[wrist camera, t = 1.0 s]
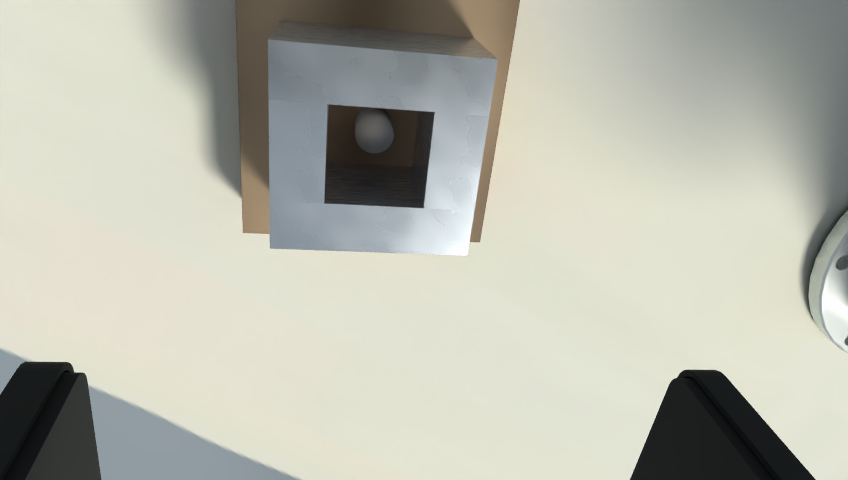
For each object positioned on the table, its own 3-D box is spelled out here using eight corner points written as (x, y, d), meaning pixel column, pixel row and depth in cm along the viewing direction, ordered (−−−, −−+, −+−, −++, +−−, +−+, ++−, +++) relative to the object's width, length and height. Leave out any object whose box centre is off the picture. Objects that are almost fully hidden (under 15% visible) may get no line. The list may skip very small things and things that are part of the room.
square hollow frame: (474, 37, 23) (497, 59, 19) (450, 209, 26) (467, 255, 22) (280, 19, 22) (267, 39, 18) (280, 201, 25) (269, 248, 21)
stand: (504, -10, 24) (531, 3, 21) (469, 217, 29) (486, 259, 25) (244, -37, 23) (227, -28, 19) (250, 207, 27) (237, 250, 24)
